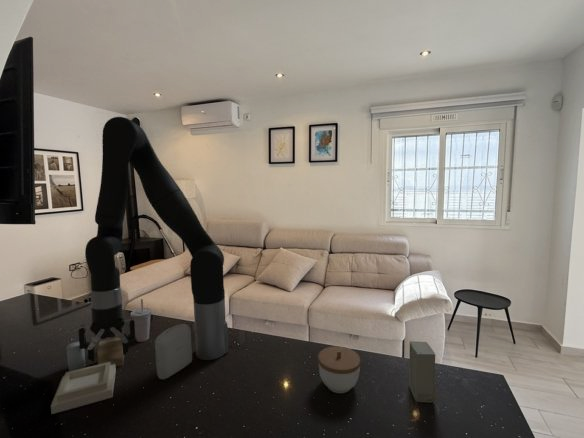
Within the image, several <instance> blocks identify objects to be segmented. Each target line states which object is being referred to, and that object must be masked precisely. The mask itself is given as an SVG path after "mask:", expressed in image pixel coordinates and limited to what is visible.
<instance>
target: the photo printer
mask: <svg viewBox="0 0 584 438" xmlns="http://www.w3.org/2000/svg"><path fill="white" fill-rule="evenodd" d="M192 347H193V346H192V332H191V328H190V326H189V325H188V324H186V323H181V324H177V325H172V327H169V328H167V329H165V330H164V331H163V332H161V333H160V334H159V335H158V336H157V337H156V338H155V339H154V348H155V350H154V352H155V365H156V366H155V367H156V374H157V377H158V379H159V380H166V379H168V378H170V377H171V376H174V375H175V374H177V373H178V372H180V371H181V370H183V369H184V368H186V367H187V366H189V365H190V364H191V363H192V362H193V351H192V349H193V348H192Z"/></svg>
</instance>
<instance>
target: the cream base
mask: <svg viewBox="0 0 584 438" xmlns="http://www.w3.org/2000/svg"><path fill="white" fill-rule="evenodd" d="M116 368H117V367H115V364H113V365H111V362H107V363H103V364H99V365H98V364H95V365H92V366H87V367H86V366H85V367H84V368H82V369H77V370H73V371H69V370H68V371H66V372H65V373H64V375H63V376H62V378H61V380H60V382H59V385H58V387H57V390H56V392H55V395H54V397H53V399H52V402H51V405H50V412H51V415H53V414H57V413H61V412H65V411H69V410H72V409H75V408H79V407H82V406H86V405H90V404H93V403H97V402H101V401H104V400H107V399H108V400H109V399H112V398H113V396H114V387H115V380H116V373H117V372H116V371H117V369H116Z"/></svg>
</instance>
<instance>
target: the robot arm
mask: <svg viewBox="0 0 584 438" xmlns="http://www.w3.org/2000/svg"><path fill="white" fill-rule="evenodd" d="M101 144H102V158H101V159H102V160H101V163H102V164H101V177H100V187H99V193H98V198H97V203H96V208H95V214H94V222H95V223H96V224H97V232H96V233H97V234H96V236H95V237H92V238H90V239H89V241H87V243H86V244H85V245H86V246H85V251H84V253H85V260H86V265H87V267H88V271H89V273H90V287H91V288H90V289H91V294H90V307H91V309H90V310H91V322H92V323H91V325H84V324H83V325H82V324H81V325H80V327H79V329H78V342H79V345H80V349H84V350H85V349H86V350H87V358H88V360H89V361H91V363H92V362H95V360H96V352H95V351H96V349H95V346H96V344H97V343H98V342H99V340H100V339H101V340H104V339H105V340H106V339H107V338H115V336H116V338H119V339H121V340H122V341H123V355H124V356H126V355H127V353H128V352H129V349H130V347H129V343H130V341H134V340H135V339H136V335H135V319H134V318H131V317H130V318H129V319H124V318H123V296H122V288H121V275H120V269H119V268H118V267H117V266H116V263H115V261H116V260H115V256H116V255H117V254H118V253H119V252H120V251H121V248H122V244H123V241H124V237H123V236H124V221H125V216H126V211H127V205H128V194H129V193H128V168H129V164H130V165H131V166H132V168H133V169H134V170H135V173H136V174H137V175H138V176H137V177H138V178H139V180H140V183H141V187H142V189H143V192H144V194H145V196H146V199H147V200H148V202H149V204H150V206H151V207H152V208H153V210H154V211H155V213H156V214H157V216H158V217H159V218H160V220H161V221H162V222H163V223H164V224H165V225H166V227H168V228H169V229H170V231H172V232H173V233H174V234H176V235H177V237H178V238H180V240H181V241H182V242H183V244H184V245H185V246H186V248H187V250H188V252H189V253H190V256H191V260H190V262H189V263H190V264H189V265H190V267H189V269H190V270H189V271H190V285H191V293H192V297H193V299H192V300H193V317H194V319H193V320H194V321H193V323H194V339H195V340H194V341H195V343H194V344H195V356H196V358H197V359H199V360H203V361H212V360H216V359H219V358H221V357H223V356H224V355H225V354H229V333H228V332H229V331H228V328H229V327H228V325H229V324H228V322H227V321H226V320H227V319H226V300H225V299H226V295H225V294H226V292H225V285H224V265H225V264H224V263H225V256H224V253H223V251H222V250H221V249H220V248H219V246H218V245H217V244H216V243H215V241H214V240H213V239H212V238H211V237H210V235H209V234H208V232H207V231H206V230H205V229H204V227H203V225H202V224H201V221H200V220H199V218H198V216H197V214H196V213H195V211H194V209H193V207H192V206H191V204H190V202H189V201H188V199H187V197H186V196H185V194H184V192H183V191H182V189H181V188H180V186H179V185H178V184H177V183H176V180H175V179H174V178H173V176H172V175H171V173H169V172H168V170H167V169H166V168H165V166H164V165H163V164H162V162H161V161H160V159H159V157H158V155H157V154H156V152H155V150H154V148H153V145H152V144H151V142H150V140H149V137H148V136H147V134H146V133H145V130H144V129H143V128H142V127H141V126H140V125H139V124H137V123H136V122H134V121H132V120H131V119H129V118H127V117H123V116H115V117H112V118H110V119H108V120H107V121H106V122H105V123H104V126H103V127H102V143H101ZM125 325H126V327H127V328H129V334H127V333H125V331H124V329H122V328H123V327H124V326H125ZM89 331H91V332H92V333H93V334H94V335H93V336H92V338H91V340H90V341H89V342H88V341H87V334H89Z"/></svg>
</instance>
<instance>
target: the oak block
mask: <svg viewBox="0 0 584 438" xmlns="http://www.w3.org/2000/svg"><path fill="white" fill-rule="evenodd" d="M96 354H97V361H98V362H97V365H99V364H103V363H107V362H111V365H113V364H115V367H116V368H117V367H118V368H119V367H121V366H124V361H125V355H123V341H122V340H121V339H119V338H118V337H112V338H109V339H105V340H104V339H102V340H100V341H99V344H98V348H97V353H96Z"/></svg>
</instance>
